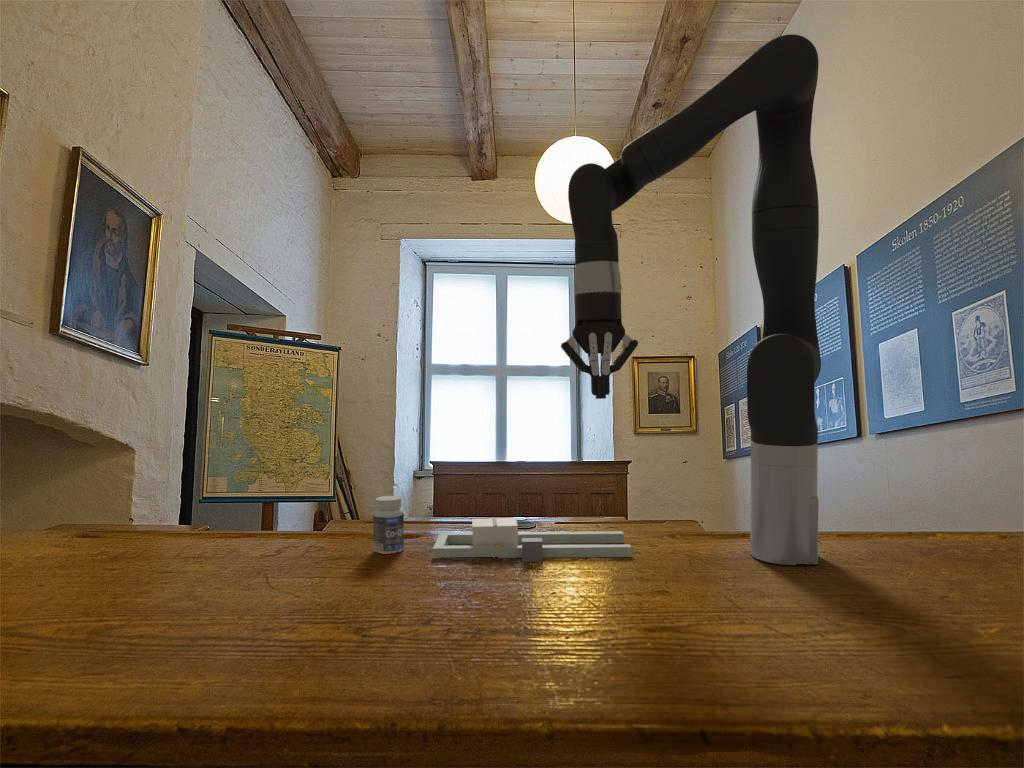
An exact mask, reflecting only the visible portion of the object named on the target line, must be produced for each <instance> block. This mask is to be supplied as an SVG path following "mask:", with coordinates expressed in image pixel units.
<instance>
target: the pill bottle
mask: <svg viewBox="0 0 1024 768" xmlns="http://www.w3.org/2000/svg"><path fill="white" fill-rule="evenodd" d="M374 503H375V504H374V505H375V510H374V511H373V512H372V513H373V515H372V521H373V522H372V523H373V526H372V527H373V528H372V531H373V534H372V535H373V536H372V537H373V550H374V549H375V550H378V551H385V552H386V551H399V550H402V549H405V536H404V534H405V529H404V528H405V527H404V524H405V522H404V519H405V517H404V516H405V514H404V510H403V509H402V497H401V496H398V495H383V496H378V497H376V498H375V502H374Z"/></svg>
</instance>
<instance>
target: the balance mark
mask: <svg viewBox="0 0 1024 768" xmlns="http://www.w3.org/2000/svg"><path fill="white" fill-rule="evenodd" d="M495 548H503V544H495Z"/></svg>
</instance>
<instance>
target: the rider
mask: <svg viewBox="0 0 1024 768" xmlns="http://www.w3.org/2000/svg"><path fill="white" fill-rule="evenodd" d="M471 520H472V523H471V526H472V527H471V529H472V530H471V531H472V541H473V544H472V545H495V544H503V545H519V544H518V532H519V529H518V528H519V525H518V521H517V517H499V518H498V517H492V518H472V519H471Z"/></svg>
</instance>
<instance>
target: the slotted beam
mask: <svg viewBox="0 0 1024 768" xmlns="http://www.w3.org/2000/svg"><path fill="white" fill-rule="evenodd" d="M624 535H625V534H624V532H623V531H621V530H620V531H619V530H617V531H613V530H612V531H611V530H610V531H518V545H503V548H495V545H473V541H472V532H440V533H439V534H438V535H437V539H436V541H435V543H434V544H433V547H432V558H433V557H493V558H492V559H496V558H495V557H498V558H497V559H499V558H500V559H508V558H509V559H513V558H514V559H515V558H516V559H518V558H519V559H521V558H522V559H521V561H522V563H524V562H526V563H530V562H531V563H533V562H537V563H538V562H543V559H545V558H549V559H550V558H632V554H633V553H632V551H633V550H632V546H631V544H628V543H627V544H626V543H625V536H624Z"/></svg>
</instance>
